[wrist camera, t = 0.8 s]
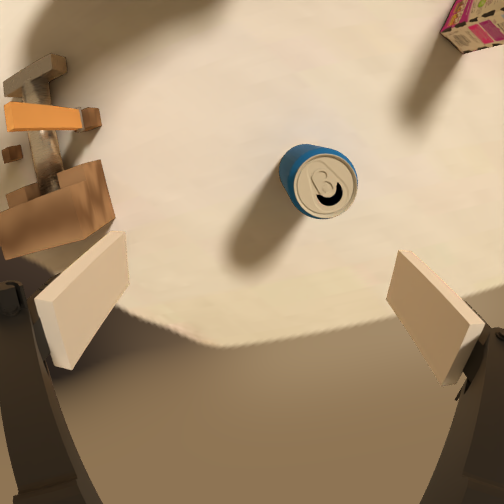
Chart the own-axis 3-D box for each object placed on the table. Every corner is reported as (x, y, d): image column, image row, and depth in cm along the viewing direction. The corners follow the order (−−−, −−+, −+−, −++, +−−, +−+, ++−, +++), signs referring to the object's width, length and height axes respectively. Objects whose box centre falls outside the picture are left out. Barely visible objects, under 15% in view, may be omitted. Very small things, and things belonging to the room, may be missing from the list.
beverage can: (295, 206, 40) (312, 236, 28) (268, 161, 38) (274, 172, 26) (340, 180, 38) (374, 200, 27) (314, 134, 36) (340, 135, 25)
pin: (19, 83, 32) (2, 81, 29) (65, 57, 32) (50, 53, 28) (40, 196, 39) (24, 202, 35) (87, 179, 38) (73, 184, 34)
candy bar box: (464, 56, 31) (542, 40, 16) (438, 33, 30) (512, 4, 15) (483, 11, 28) (552, -12, 12) (459, -11, 27) (525, -43, 11)
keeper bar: (2, 102, 18) (11, 97, 18) (75, 110, 32) (81, 107, 32) (7, 135, 19) (15, 131, 19) (79, 132, 33) (86, 129, 33)
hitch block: (13, 147, 36) (-27, 154, 28) (98, 108, 35) (61, 105, 26) (37, 238, 41) (2, 261, 33) (123, 215, 40) (93, 237, 32)
